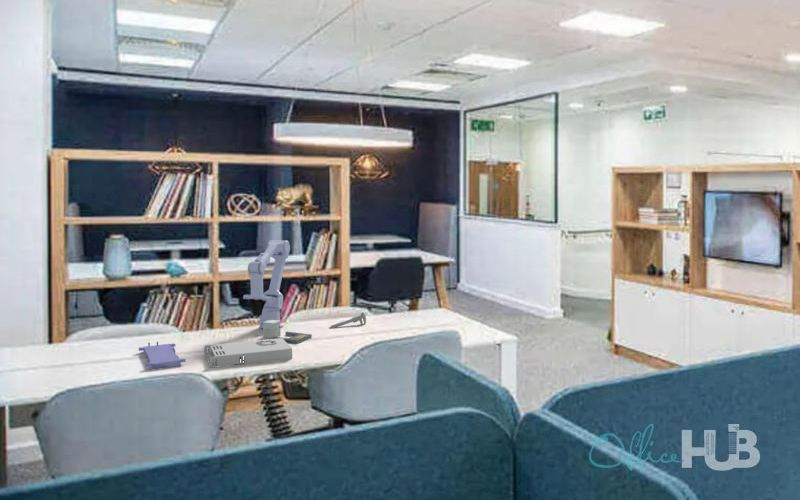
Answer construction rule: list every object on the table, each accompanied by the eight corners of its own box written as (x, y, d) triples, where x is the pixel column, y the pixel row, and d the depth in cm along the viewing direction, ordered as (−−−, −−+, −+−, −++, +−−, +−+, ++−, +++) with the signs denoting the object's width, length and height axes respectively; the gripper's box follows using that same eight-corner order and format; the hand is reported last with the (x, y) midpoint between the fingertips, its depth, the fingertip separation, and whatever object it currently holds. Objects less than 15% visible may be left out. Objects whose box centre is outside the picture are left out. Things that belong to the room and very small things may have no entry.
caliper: (364, 323, 329) (364, 311, 328) (365, 324, 328) (365, 312, 328) (328, 328, 319) (328, 316, 318) (329, 329, 318) (329, 316, 317)
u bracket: (272, 340, 294) (272, 337, 294) (287, 334, 305) (287, 331, 305) (297, 343, 289) (297, 340, 289) (311, 337, 300) (311, 334, 299)
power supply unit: (204, 357, 270) (204, 345, 269) (282, 349, 282) (282, 337, 282) (209, 369, 252) (209, 357, 252) (292, 360, 265) (292, 348, 265)
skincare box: (274, 338, 298) (274, 323, 297) (262, 337, 300) (262, 322, 299) (280, 335, 304) (280, 320, 303) (269, 334, 305) (268, 319, 305)
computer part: (174, 348, 282) (138, 352, 275) (174, 338, 282) (137, 342, 275) (186, 366, 256) (146, 371, 249) (185, 355, 255) (145, 360, 248)
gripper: (238, 287, 302) (239, 315, 303) (264, 289, 296) (265, 318, 297) (248, 284, 308) (249, 312, 310) (273, 286, 302) (274, 315, 304)
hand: (257, 315), depth 304 cm, fingers closed
